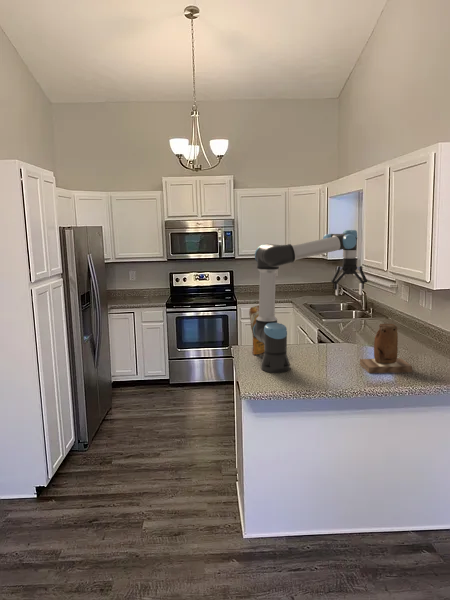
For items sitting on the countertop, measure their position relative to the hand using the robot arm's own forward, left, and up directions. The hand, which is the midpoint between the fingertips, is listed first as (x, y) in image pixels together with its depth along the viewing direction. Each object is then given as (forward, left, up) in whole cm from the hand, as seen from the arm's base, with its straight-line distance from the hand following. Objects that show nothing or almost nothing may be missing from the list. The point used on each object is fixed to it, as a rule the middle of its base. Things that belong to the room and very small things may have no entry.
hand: (348, 295), depth 269 cm
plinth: (+12, -28, -35) cm, 46 cm away
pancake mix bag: (-50, +9, -35) cm, 62 cm away
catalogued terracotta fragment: (+12, -28, -32) cm, 44 cm away
